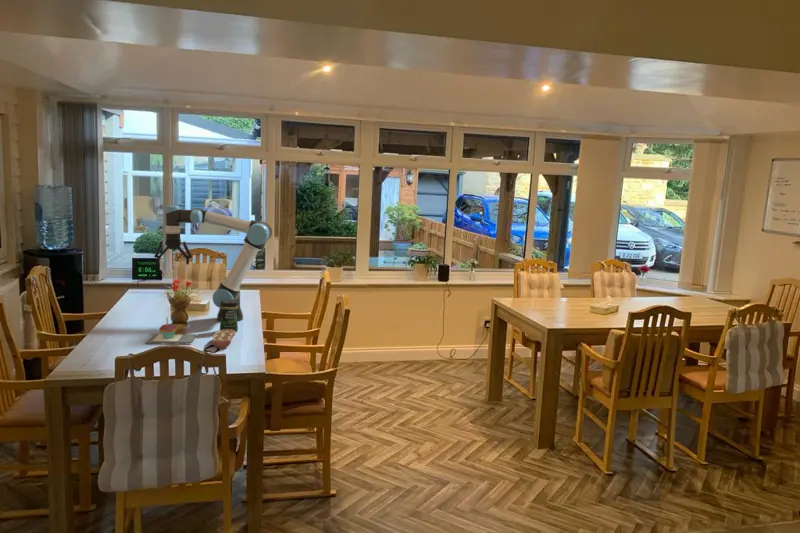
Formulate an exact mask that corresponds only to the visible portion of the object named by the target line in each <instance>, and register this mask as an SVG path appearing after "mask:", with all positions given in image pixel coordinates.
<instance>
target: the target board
mask: <svg viewBox="0 0 800 533" xmlns="http://www.w3.org/2000/svg"><path fill="white" fill-rule="evenodd" d="M197 337H198V335H197V334H181V333H180V334H179V333H177V334H176V333H174V336H173V338H170V339H165V338H163V335H162V333H161V334H160V333H159V334H157V333H154V334H153V335H151V336H150V337H149V338H148V339H147V340H146V341H145V344H146V345H162V344H161V343H168V344H167V345H176V344H175V343H184V344H183V345H186V344H185V343H193V342H194V341H195V340H196V339H195V338H197ZM194 339H195V340H194Z"/></svg>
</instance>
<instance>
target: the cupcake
mask: <svg viewBox="0 0 800 533" xmlns="http://www.w3.org/2000/svg"><path fill="white" fill-rule="evenodd" d="M177 330H178V329H177V326H176V325H174V324H172V323H169V318H168V316H166V323H165V324H161V326H160V327H159V330H158V331H159V332H160V333H161V334H162V335H163V338H165V339H170V338H173V336H174V334H176V331H177Z"/></svg>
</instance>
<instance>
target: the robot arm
mask: <svg viewBox="0 0 800 533" xmlns="http://www.w3.org/2000/svg"><path fill="white" fill-rule="evenodd" d="M164 215H165V232H166V233H165V241H163V240H161V241H160V242H159V246H158V247H157V250H156V251H155V254H154V256H153V257H154V258H156V259H157V264H158V265H159V271H163V270H164V268H163V258H162V257H163V256H164V255H165V254H166V252H167V251H168V250H178V251H179V252H180V253H181V255H182V256H184V271H188V265H190V259H192V258H193V254H192V253H191V250H190V249H189V247H188V245H187V241H181V224H183V223H184V224H195V225H196V224H201V223H202V224H206V225H211V226H213V227H217V228H221V229H226V230H229V231H230V230H231V231H234V232H238V233H242V234H246V235H245V237H244V239H243V243H244V244H243V247H242V249H241V250H240V252H239V254H238V256H237V258H236V260H235V261H234V263H233V264H232V266H231V269H230V271H229V272H228V275H227V276H226V278H225V279H223V280H221V281H220V283H219V286H218V287H217V289H216V290H215V291H214V293H213V295H212V302H213V304H214V305H215V306H216V307H217V308H219V309H218V312H217V314H216V320H217V321H219V322H221V308H220V304H221V300H223V299H236V300H237V303H238V309H237V322H239V321H242V320H244V314H243V311H242V308H241V284H242V282H243V280H244V278H245V276H246V275H247V273H248V271H249V269H250V267H251V266H252V263H253V262H254V260H255V258H256V256H257V254H258V253H259V251H262V250H263V249H264V247H265V246H266V243H267V242H268V241H269V239H271V237H272V235H273V230H272V227H271V225H270V224H268V223H267V222H265V221H258V220H254V219H251V220H245V219H241V218H237V217H233V216H230V215H225V214H221V213H218V212H212V211H210V210H204V209H203V208H201V207H200V208H199V207H195V208H194V209H192V208H191V209H181V207H180V205H167V206H165V214H164ZM163 246H166V247H165V248H164V249H163ZM181 246H183V248H184V250H183V248H182V247H181ZM162 249H163V250H162ZM161 251H162V252H161ZM160 252H161V253H160Z"/></svg>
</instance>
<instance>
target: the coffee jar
mask: <svg viewBox="0 0 800 533" xmlns="http://www.w3.org/2000/svg"><path fill="white" fill-rule="evenodd" d="M220 308H221V321H220V324H219V330H223V329H231V330H235V333H237V332H238V331H239V327H238V321H237V309H238V303H237V300H236V299H223V300H221V304H220ZM220 308H219V309H220Z"/></svg>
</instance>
